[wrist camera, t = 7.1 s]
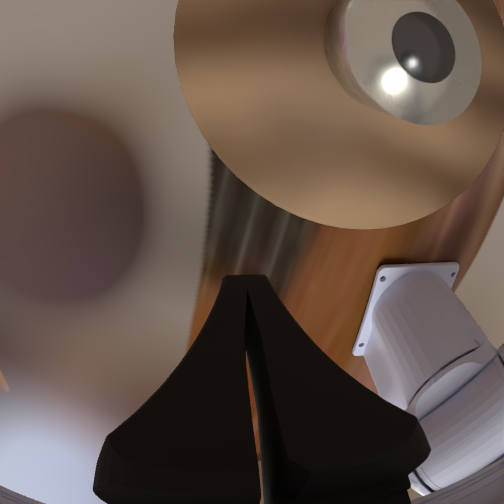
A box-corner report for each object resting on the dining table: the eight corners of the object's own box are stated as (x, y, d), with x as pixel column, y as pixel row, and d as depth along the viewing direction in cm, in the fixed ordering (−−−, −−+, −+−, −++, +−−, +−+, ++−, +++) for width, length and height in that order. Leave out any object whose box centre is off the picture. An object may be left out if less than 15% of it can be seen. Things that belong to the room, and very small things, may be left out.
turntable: (473, 224, 19) (482, 232, 18) (184, 221, 18) (181, 231, 17) (496, -31, 9) (508, -33, 8) (187, -108, 7) (185, -118, 6)
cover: (439, 121, 14) (478, 136, 11) (322, 107, 14) (346, 117, 11) (442, 6, 10) (482, 1, 8) (321, -25, 10) (345, -46, 7)
